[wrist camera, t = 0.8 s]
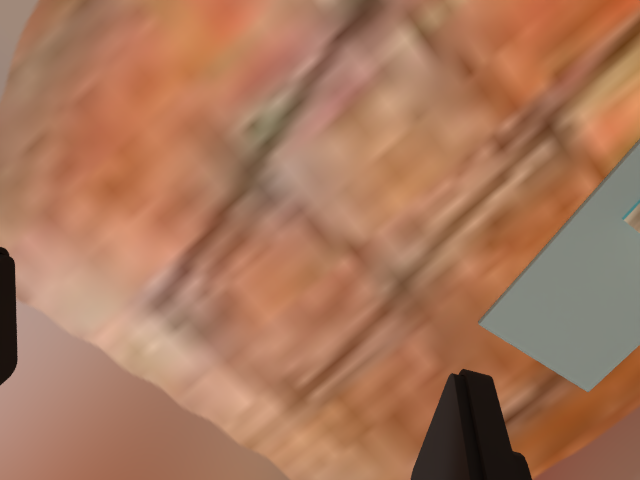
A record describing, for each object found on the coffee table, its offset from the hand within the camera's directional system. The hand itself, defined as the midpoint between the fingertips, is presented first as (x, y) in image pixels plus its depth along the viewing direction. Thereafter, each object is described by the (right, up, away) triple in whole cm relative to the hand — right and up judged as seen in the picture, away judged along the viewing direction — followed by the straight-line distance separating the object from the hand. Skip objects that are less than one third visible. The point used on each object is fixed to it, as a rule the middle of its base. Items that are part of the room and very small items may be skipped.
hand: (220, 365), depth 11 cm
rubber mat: (+28, +2, +31) cm, 42 cm away
